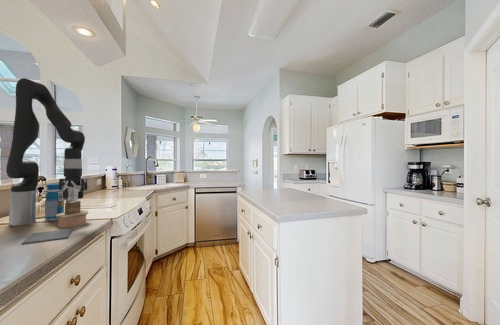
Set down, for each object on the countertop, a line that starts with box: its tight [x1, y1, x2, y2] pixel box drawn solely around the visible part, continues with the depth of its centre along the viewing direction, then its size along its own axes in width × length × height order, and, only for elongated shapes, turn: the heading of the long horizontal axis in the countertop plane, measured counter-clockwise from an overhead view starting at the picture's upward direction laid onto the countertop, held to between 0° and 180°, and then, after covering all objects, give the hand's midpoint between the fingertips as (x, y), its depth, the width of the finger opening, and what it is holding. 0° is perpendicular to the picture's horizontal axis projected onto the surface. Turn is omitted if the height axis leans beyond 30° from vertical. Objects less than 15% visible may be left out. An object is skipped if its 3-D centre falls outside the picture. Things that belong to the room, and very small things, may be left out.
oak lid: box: [56, 200, 89, 218], centre depth 114 cm, size 13×13×7 cm
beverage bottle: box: [44, 183, 65, 221], centre depth 125 cm, size 8×8×20 cm
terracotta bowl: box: [58, 214, 87, 229], centre depth 114 cm, size 11×11×5 cm
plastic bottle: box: [65, 187, 79, 203], centre depth 126 cm, size 6×7×20 cm
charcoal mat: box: [21, 228, 74, 245], centre depth 95 cm, size 14×14×1 cm
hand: (73, 198), depth 114 cm, fingers open, 8 cm apart
